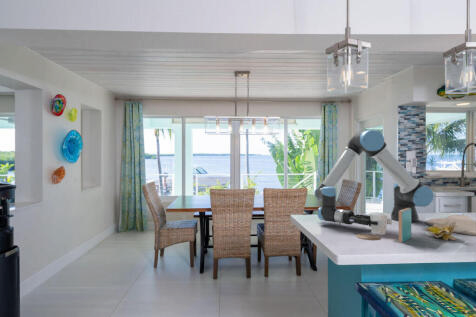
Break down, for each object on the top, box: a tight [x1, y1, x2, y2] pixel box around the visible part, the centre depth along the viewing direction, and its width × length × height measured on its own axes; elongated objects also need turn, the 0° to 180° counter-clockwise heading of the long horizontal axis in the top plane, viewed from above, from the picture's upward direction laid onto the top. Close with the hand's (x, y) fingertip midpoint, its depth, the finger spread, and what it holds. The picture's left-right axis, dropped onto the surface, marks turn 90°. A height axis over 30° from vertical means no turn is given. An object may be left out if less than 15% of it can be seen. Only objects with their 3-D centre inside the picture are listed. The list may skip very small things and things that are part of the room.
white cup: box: [369, 212, 388, 236], centre depth 158 cm, size 8×8×10 cm
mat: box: [392, 235, 446, 250], centre depth 141 cm, size 16×17×1 cm
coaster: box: [355, 233, 382, 241], centre depth 150 cm, size 11×11×1 cm
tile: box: [398, 208, 412, 244], centre depth 144 cm, size 12×2×14 cm, turn 134°
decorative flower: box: [422, 220, 460, 241], centre depth 149 cm, size 15×11×10 cm
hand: (388, 223), depth 155 cm, fingers closed on white cup, 7 cm apart
